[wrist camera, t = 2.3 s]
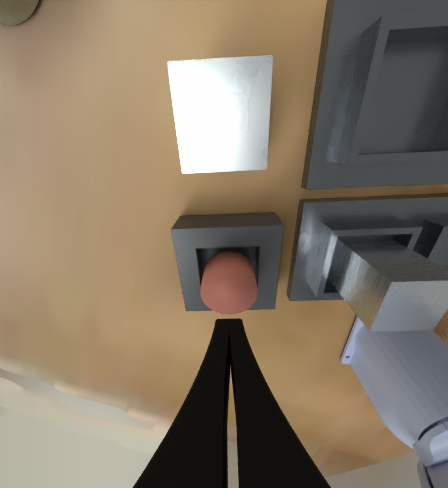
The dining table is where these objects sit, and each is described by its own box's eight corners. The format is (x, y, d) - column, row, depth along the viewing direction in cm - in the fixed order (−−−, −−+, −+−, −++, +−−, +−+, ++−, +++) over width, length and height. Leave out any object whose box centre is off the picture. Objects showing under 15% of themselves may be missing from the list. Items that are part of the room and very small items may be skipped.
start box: (268, 287, 19) (274, 309, 17) (191, 289, 20) (186, 311, 17) (274, 212, 16) (283, 225, 13) (180, 216, 16) (170, 229, 13)
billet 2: (369, 274, 17) (433, 330, 12) (325, 275, 17) (369, 331, 12) (384, 234, 16) (466, 279, 10) (335, 236, 16) (391, 281, 10)
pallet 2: (463, 289, 19) (494, 307, 17) (286, 294, 20) (294, 312, 18) (530, 190, 15) (584, 197, 13) (299, 199, 15) (312, 208, 13)
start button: (252, 290, 16) (256, 313, 14) (206, 291, 16) (203, 314, 14) (254, 249, 14) (259, 268, 12) (201, 251, 14) (197, 270, 12)
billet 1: (251, 161, 14) (266, 169, 9) (198, 164, 14) (182, 173, 9) (252, 95, 12) (273, 54, 7) (192, 99, 12) (167, 61, 7)
